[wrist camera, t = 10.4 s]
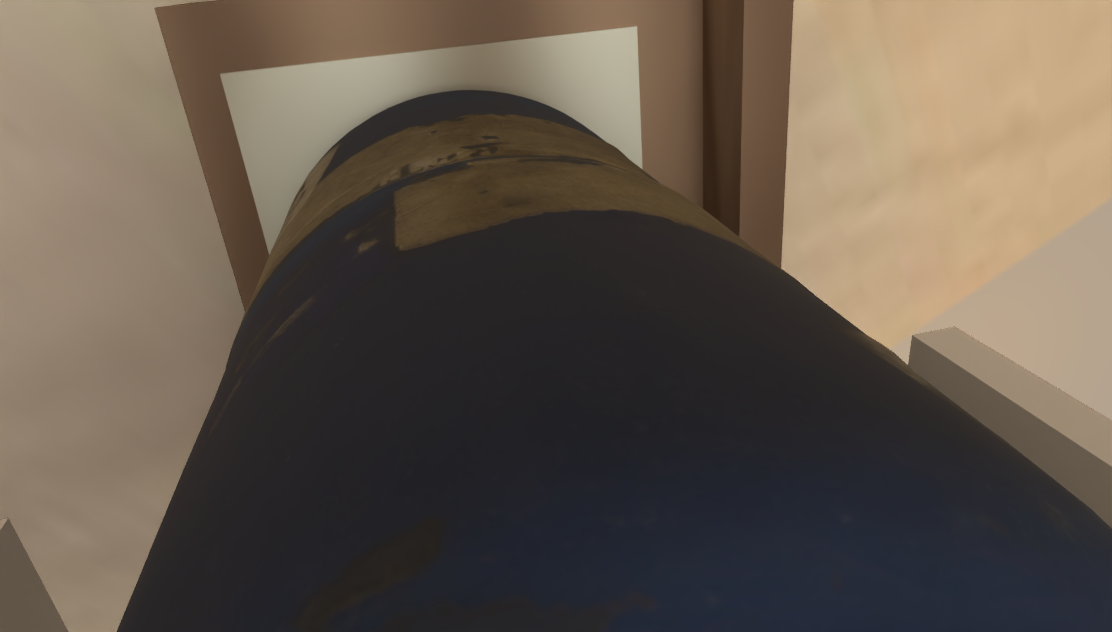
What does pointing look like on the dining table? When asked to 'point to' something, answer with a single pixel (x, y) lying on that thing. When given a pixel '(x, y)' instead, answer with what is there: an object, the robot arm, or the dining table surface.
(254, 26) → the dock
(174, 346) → the dining table surface
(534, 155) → the canister
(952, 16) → the dining table surface
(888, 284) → the dining table surface
